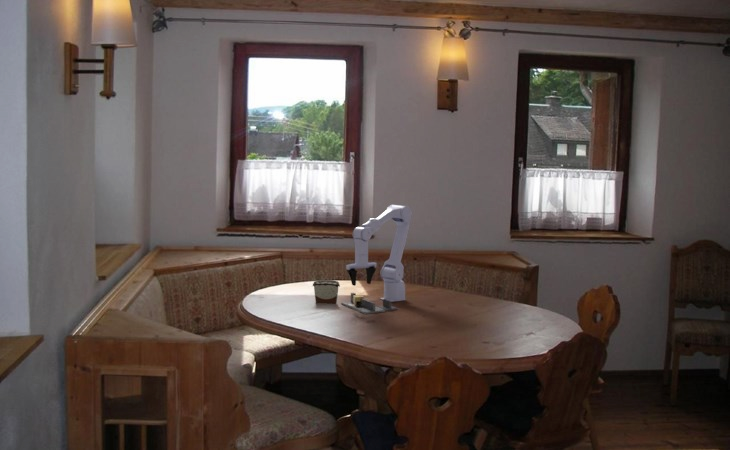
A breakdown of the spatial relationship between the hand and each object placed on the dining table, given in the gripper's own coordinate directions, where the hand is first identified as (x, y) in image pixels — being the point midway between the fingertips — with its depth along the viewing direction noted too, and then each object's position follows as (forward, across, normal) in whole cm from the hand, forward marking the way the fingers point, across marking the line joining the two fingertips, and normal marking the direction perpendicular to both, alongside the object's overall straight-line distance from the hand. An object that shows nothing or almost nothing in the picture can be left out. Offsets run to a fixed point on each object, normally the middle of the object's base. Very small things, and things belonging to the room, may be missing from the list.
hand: (361, 284), depth 343 cm
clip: (+9, +1, -1) cm, 9 cm away
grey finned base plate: (+10, -8, +10) cm, 16 cm away
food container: (+10, +10, -13) cm, 20 cm away
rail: (+10, +1, +3) cm, 10 cm away
